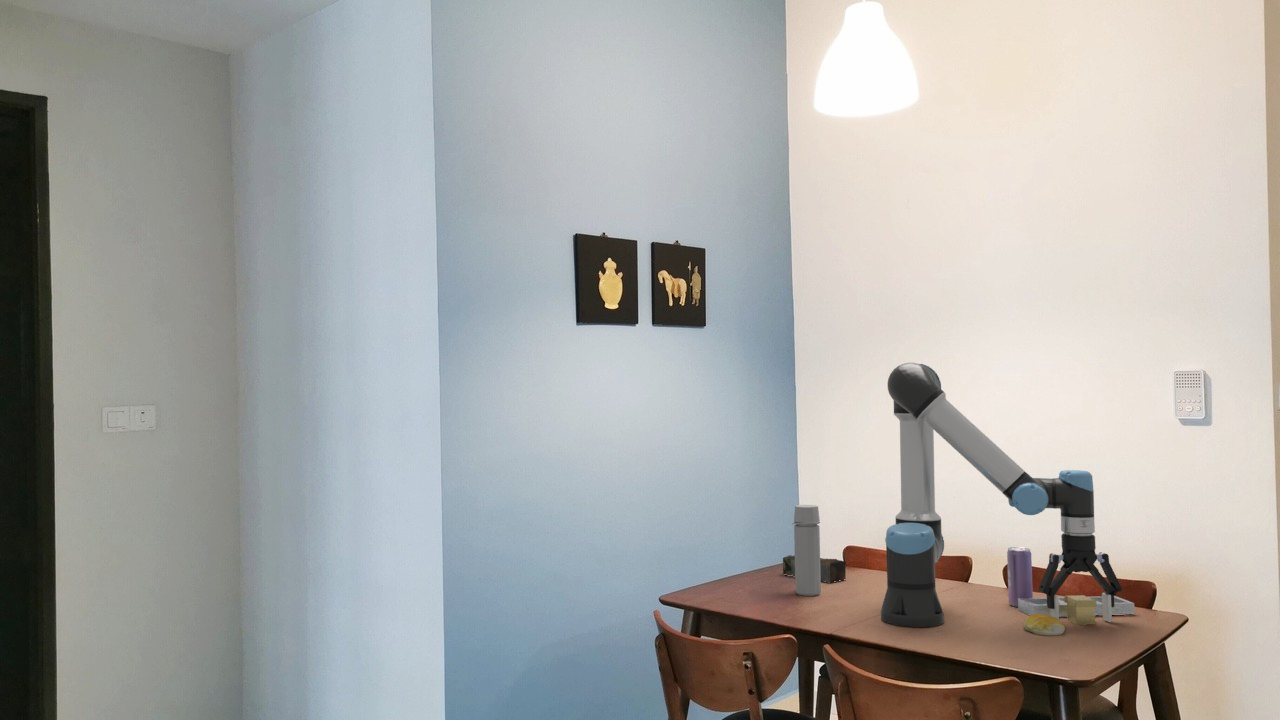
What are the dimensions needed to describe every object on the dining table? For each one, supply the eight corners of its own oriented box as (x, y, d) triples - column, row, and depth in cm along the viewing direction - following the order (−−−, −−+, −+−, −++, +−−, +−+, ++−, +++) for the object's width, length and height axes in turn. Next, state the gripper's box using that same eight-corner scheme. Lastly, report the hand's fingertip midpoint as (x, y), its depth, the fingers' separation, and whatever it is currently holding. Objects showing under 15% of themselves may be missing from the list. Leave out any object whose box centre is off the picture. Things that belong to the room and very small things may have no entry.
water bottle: (827, 595, 257) (825, 506, 258) (803, 597, 254) (801, 508, 256) (809, 589, 266) (807, 503, 267) (786, 591, 263) (784, 504, 264)
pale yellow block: (1077, 625, 220) (1076, 600, 220) (1065, 620, 225) (1064, 595, 226) (1097, 625, 220) (1096, 600, 220) (1084, 619, 226) (1083, 595, 226)
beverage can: (1035, 608, 238) (1033, 550, 239) (1011, 607, 239) (1009, 550, 240) (1030, 603, 244) (1028, 547, 245) (1006, 602, 245) (1005, 546, 246)
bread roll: (1045, 626, 221) (1045, 609, 221) (1071, 635, 212) (1070, 618, 212) (1015, 628, 219) (1015, 611, 219) (1040, 637, 210) (1039, 620, 210)
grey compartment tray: (1034, 617, 228) (1033, 605, 228) (1018, 609, 237) (1018, 598, 237) (1134, 615, 229) (1134, 603, 229) (1115, 607, 238) (1115, 596, 238)
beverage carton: (797, 572, 293) (797, 552, 293) (847, 581, 278) (847, 559, 279) (782, 576, 287) (781, 555, 288) (831, 584, 273) (831, 562, 273)
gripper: (1036, 536, 219) (1039, 626, 218) (1135, 534, 221) (1139, 623, 219) (1022, 532, 227) (1025, 618, 226) (1118, 530, 228) (1121, 616, 227)
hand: (1081, 621), depth 223 cm, fingers open, 12 cm apart
